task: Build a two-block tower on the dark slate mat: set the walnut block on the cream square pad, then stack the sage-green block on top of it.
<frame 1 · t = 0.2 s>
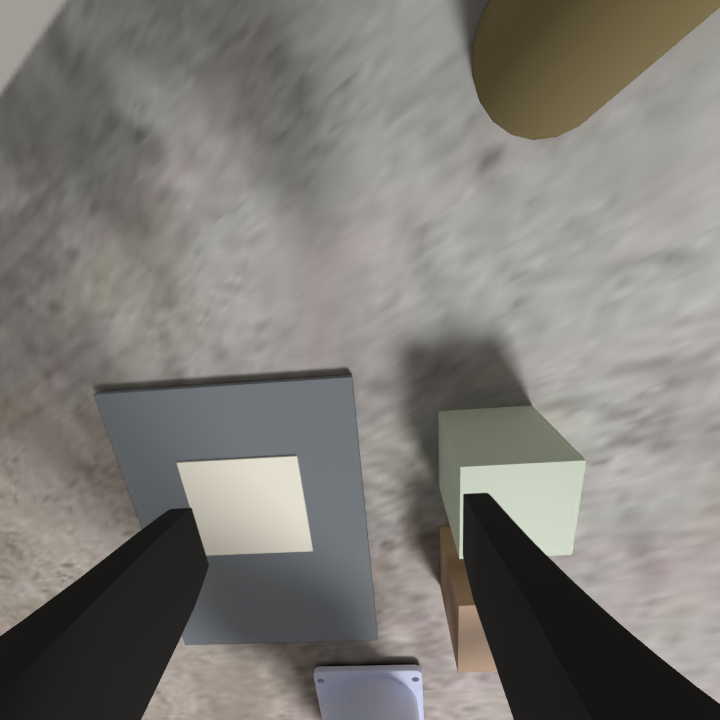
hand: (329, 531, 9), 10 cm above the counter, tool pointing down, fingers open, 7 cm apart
walnut block: (478, 554, 22), on the counter
cork: (547, 53, 14), on the counter
sage block: (482, 447, 20), on the counter
mat: (256, 528, 22), on the counter
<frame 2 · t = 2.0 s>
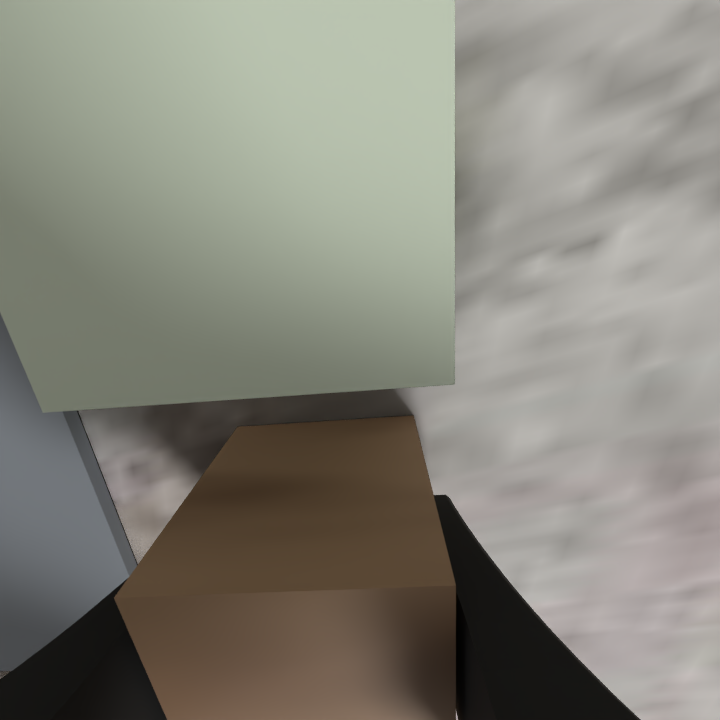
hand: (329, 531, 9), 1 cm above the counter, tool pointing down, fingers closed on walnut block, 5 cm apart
walnut block: (334, 494, 10), on the counter, touching gripper
sage block: (296, 209, 8), on the counter
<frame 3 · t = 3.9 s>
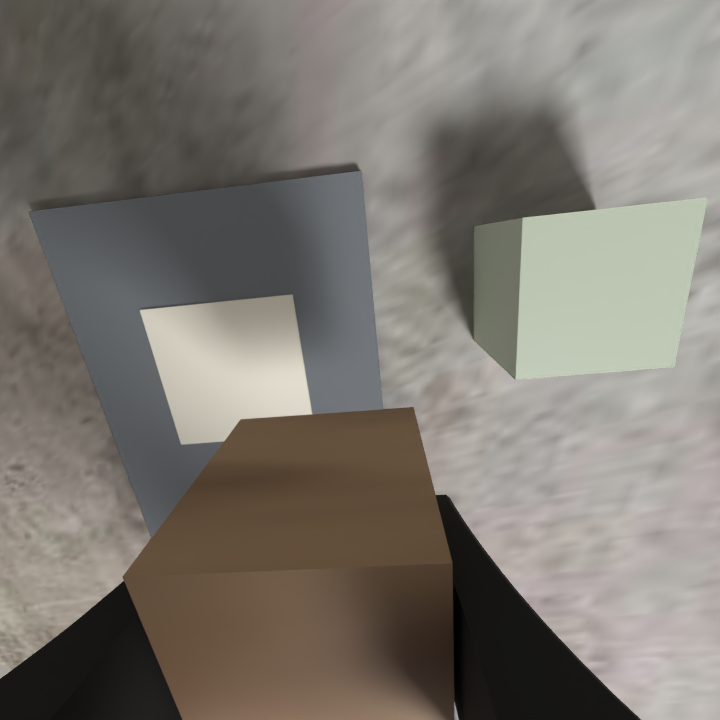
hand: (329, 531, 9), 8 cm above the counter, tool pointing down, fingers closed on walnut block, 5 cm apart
walnut block: (335, 485, 11), point 7 cm above the counter, touching gripper
sage block: (530, 280, 15), on the counter
mat: (244, 408, 18), on the counter
when the fingers open (3 cm above the counter, at t = 5.9 s): walnut block stays where it is, resting on mat.
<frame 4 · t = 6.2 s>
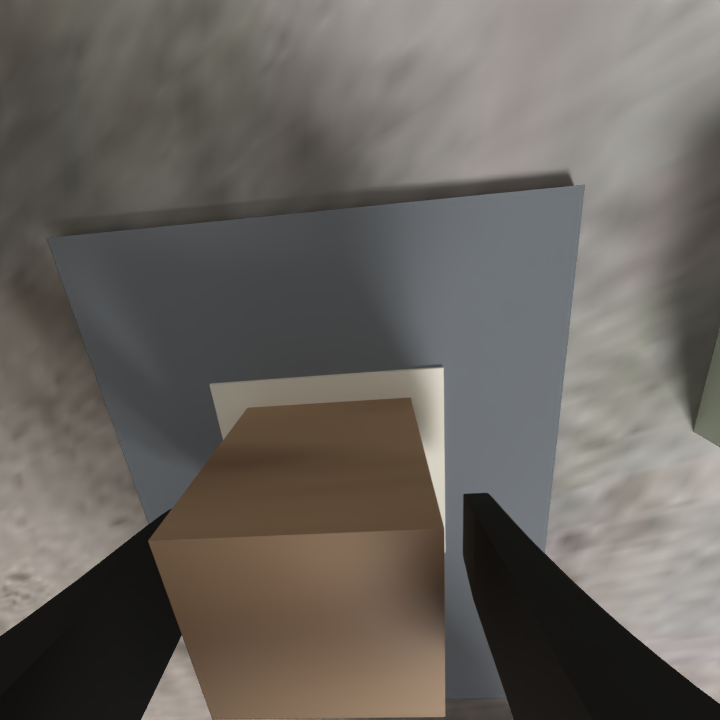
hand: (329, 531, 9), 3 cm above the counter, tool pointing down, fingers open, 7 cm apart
walnut block: (336, 471, 11), resting on mat
mat: (344, 512, 12), on the counter
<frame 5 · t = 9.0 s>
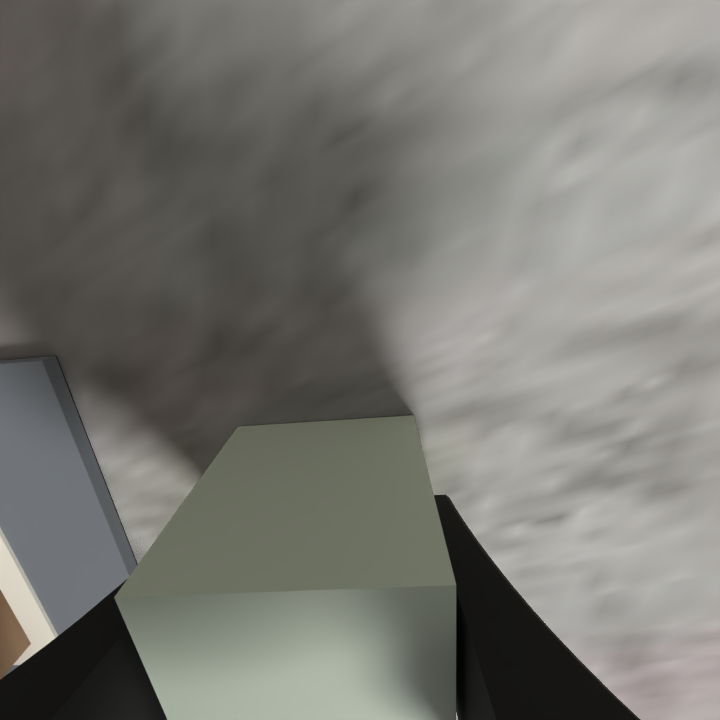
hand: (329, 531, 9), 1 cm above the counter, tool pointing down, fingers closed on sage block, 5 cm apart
sage block: (334, 493, 10), on the counter, touching gripper
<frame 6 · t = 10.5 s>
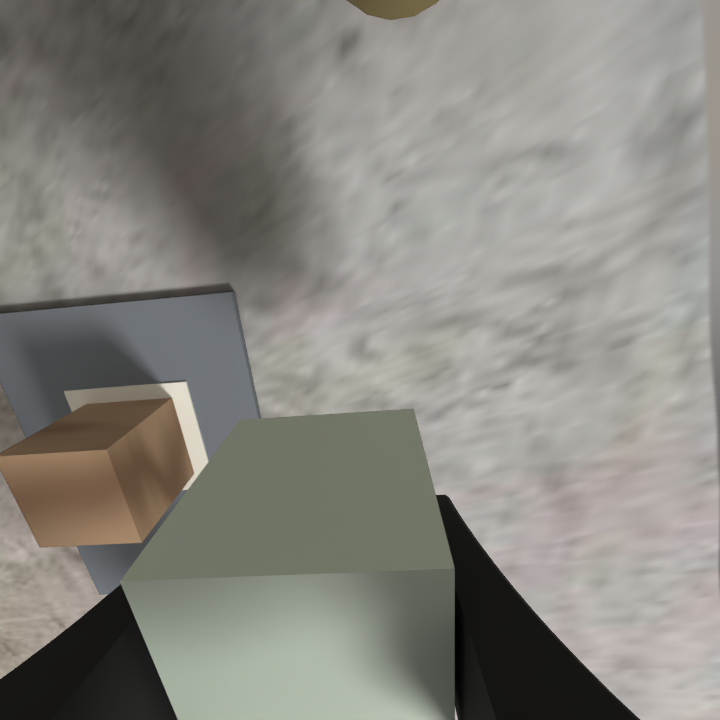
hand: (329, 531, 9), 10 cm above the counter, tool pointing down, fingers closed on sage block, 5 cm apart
walnut block: (142, 439, 20), resting on mat
sage block: (334, 487, 11), point 9 cm above the counter, touching gripper
mat: (157, 465, 21), on the counter
when the fingers open (8 cm above the counter, at t = 12.2 s): sage block stays where it is, resting on walnut block.
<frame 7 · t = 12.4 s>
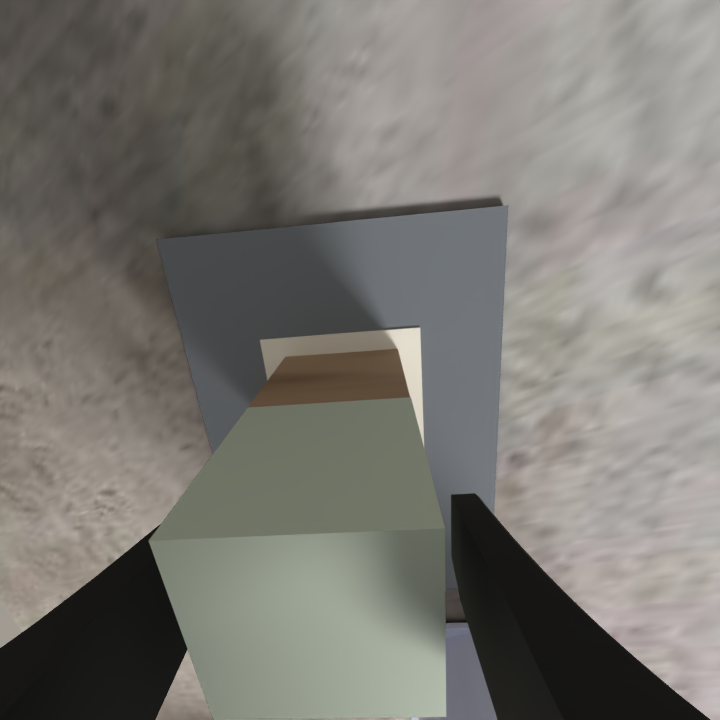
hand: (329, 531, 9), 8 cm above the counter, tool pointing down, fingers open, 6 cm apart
walnut block: (346, 404, 16), resting on mat, touching sage block
sage block: (336, 471, 11), point 5 cm above the counter, touching walnut block
mat: (351, 438, 17), on the counter
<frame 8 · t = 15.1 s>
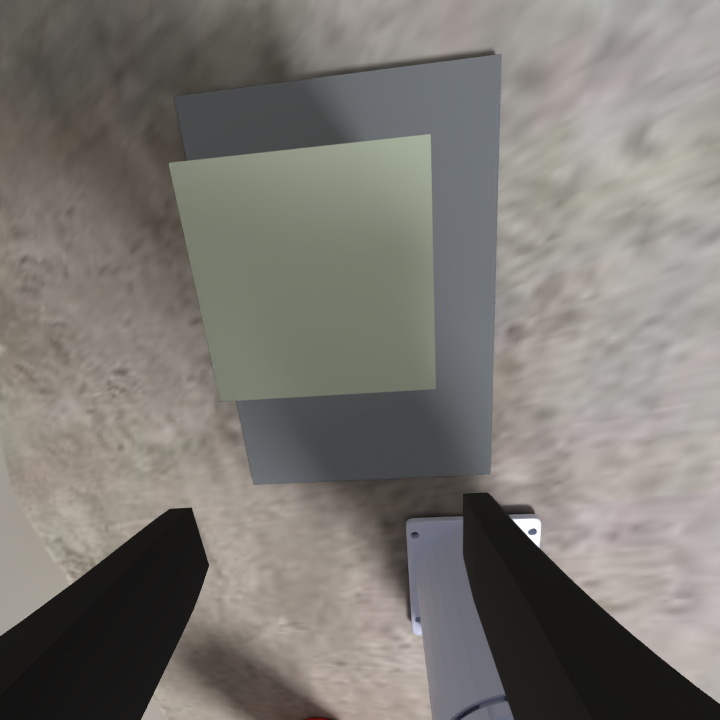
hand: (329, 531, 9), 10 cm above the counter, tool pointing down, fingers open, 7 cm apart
sage block: (338, 272, 12), point 5 cm above the counter, touching walnut block
mat: (354, 309, 18), on the counter
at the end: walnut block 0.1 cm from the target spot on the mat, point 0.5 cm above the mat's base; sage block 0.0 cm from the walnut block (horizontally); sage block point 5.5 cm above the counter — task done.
